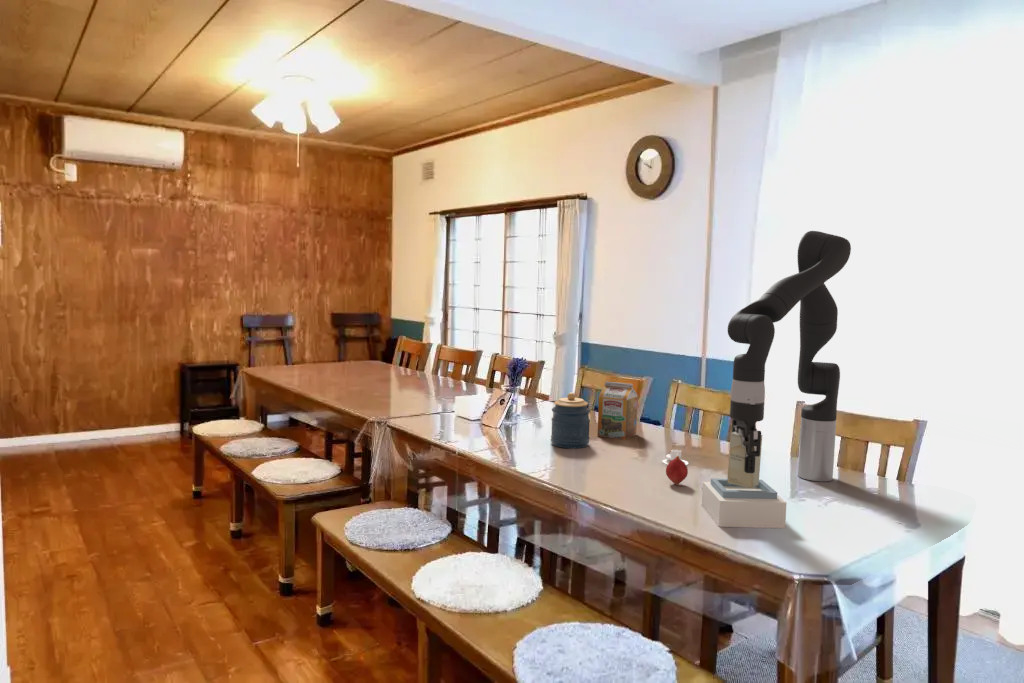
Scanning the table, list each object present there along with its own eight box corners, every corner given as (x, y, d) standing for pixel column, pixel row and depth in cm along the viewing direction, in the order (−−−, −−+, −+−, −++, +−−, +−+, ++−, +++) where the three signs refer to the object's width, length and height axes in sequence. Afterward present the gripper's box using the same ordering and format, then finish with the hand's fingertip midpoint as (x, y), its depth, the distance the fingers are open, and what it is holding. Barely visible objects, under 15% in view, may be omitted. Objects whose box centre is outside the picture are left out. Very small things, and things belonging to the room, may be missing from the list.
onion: (661, 482, 192) (662, 454, 191) (678, 480, 194) (679, 452, 193) (673, 488, 186) (675, 459, 186) (691, 486, 188) (692, 457, 188)
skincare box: (726, 483, 165) (729, 432, 164) (735, 479, 168) (737, 429, 167) (752, 488, 161) (754, 437, 160) (760, 484, 164) (762, 434, 163)
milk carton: (636, 434, 252) (638, 382, 250) (625, 439, 243) (627, 385, 241) (609, 430, 257) (610, 379, 255) (597, 435, 248) (599, 383, 246)
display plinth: (701, 505, 173) (703, 475, 172) (762, 506, 172) (763, 477, 172) (718, 526, 158) (720, 494, 157) (785, 528, 157) (786, 495, 157)
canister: (594, 448, 229) (596, 395, 228) (557, 449, 226) (558, 396, 225) (581, 439, 242) (583, 389, 240) (546, 440, 239) (547, 390, 237)
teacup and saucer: (665, 458, 219) (665, 446, 219) (690, 461, 216) (691, 448, 216) (659, 465, 211) (660, 452, 211) (686, 468, 208) (687, 455, 208)
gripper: (722, 393, 170) (719, 459, 171) (740, 404, 155) (737, 476, 157) (753, 394, 170) (750, 460, 171) (774, 405, 155) (770, 477, 157)
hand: (744, 468), depth 164 cm, fingers closed on skincare box, 7 cm apart
